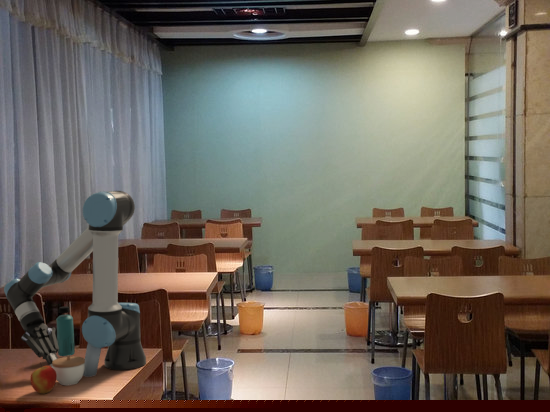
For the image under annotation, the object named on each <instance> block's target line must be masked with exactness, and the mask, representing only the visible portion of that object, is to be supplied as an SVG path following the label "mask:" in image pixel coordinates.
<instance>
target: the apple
mask: <svg viewBox="0 0 550 412" xmlns="http://www.w3.org/2000/svg"><path fill="white" fill-rule="evenodd" d="M39 364H40V366H41V367H39V368H37V369H35V370H34V371H32V372H31V374H30V385H31V387H32V388H33V390H34V391H35V392H37V393H38V394H47V393H50V392H51V391H52V390H53V388H54V387H55V385H56V383H57V380H56V378H57V374H56V371H55V370H54V369H53V368H52V367H51V365H44V366H43V365H42V362H39Z"/></svg>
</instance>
